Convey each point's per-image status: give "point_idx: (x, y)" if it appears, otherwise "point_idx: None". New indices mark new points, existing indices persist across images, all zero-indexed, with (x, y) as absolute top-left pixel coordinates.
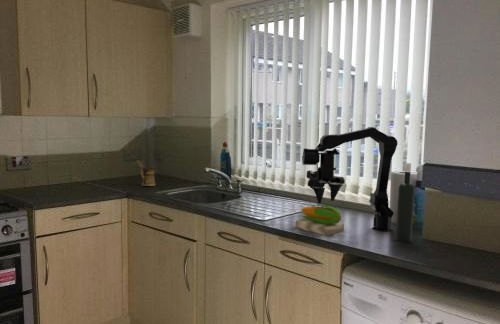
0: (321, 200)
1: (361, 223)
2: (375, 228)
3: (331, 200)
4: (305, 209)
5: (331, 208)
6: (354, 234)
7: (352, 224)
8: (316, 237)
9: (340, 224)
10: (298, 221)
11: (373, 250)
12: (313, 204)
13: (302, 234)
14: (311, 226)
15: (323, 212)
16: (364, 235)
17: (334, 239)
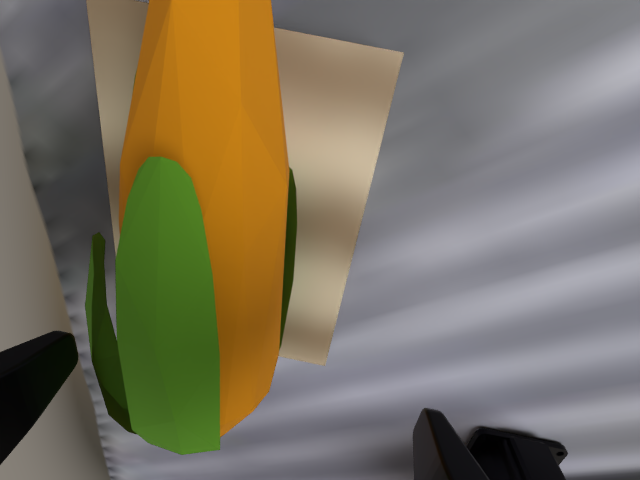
0: (29, 417)
1: (619, 355)
2: (471, 447)
3: (423, 410)
4: (143, 37)
5: (142, 435)
6: (294, 389)
7: (550, 321)
8: (72, 269)
9: (284, 356)
10: (93, 39)
11: (132, 477)
12: (135, 191)
13: (40, 174)
14: None
15: (93, 351)
16: (312, 423)
17: None
